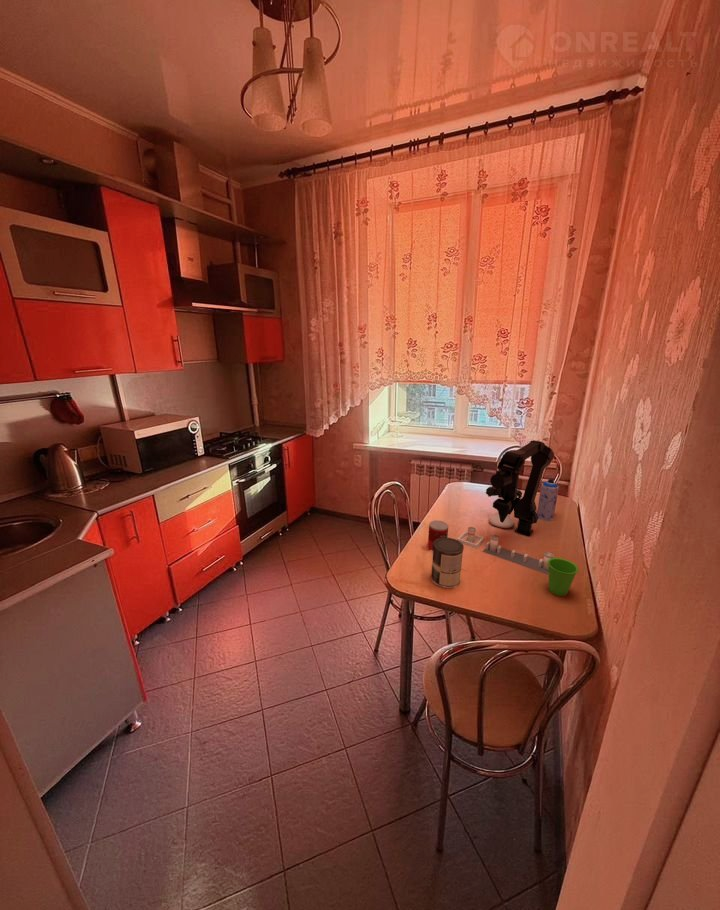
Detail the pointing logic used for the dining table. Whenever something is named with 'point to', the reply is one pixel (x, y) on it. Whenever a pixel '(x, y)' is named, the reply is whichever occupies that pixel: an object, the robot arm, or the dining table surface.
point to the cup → (561, 575)
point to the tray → (470, 542)
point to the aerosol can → (547, 500)
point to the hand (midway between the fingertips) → (505, 518)
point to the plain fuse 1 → (494, 543)
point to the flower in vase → (496, 521)
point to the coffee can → (447, 562)
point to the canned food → (436, 532)
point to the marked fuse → (471, 534)
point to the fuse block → (517, 558)
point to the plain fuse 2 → (546, 557)
